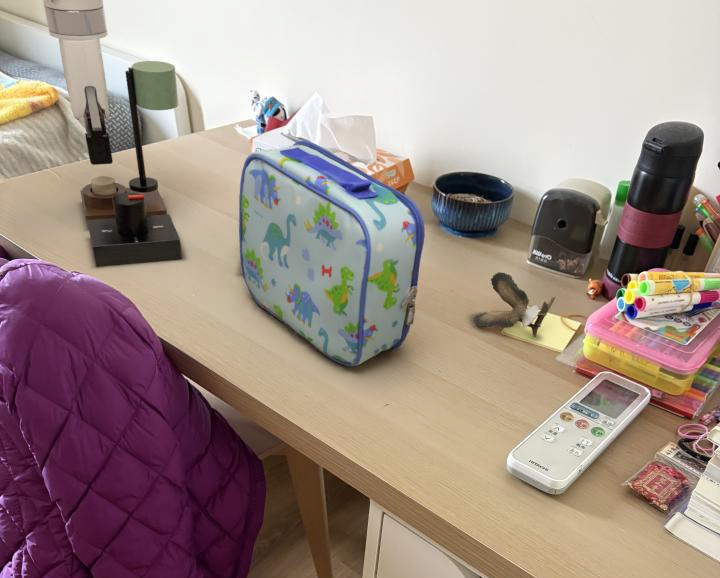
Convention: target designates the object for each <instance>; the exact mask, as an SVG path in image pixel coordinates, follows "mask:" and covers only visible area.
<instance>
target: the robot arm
mask: <svg viewBox="0 0 720 578" xmlns="http://www.w3.org/2000/svg"><path fill="white" fill-rule="evenodd" d="M42 4H43V8H44V13H45V19H46V22H47V23H46V24H47V28H48V33H49V36H51V37H52V38H56V39H58V44H59V51H60V59H61V63H62V68H63V73H64V80H65V85H66V89H67V94H68V99H69V103H70V108H71V113H72V116H73V118H74V119H75V120H76V121H79V120H80V119H81V118H83V123H84V127H85V133H84V135H85V136H84V137H85V141H86V147H87V153H88V157H89V162H90V164H91V165H93V166H99V165H111V164H112V163H113V160H114V159H113V154H112V148H111V144H110V136H109V134H108V132H107V127H106V121H105V120H107V119H108V118H109V117H110V109H109V98H108V88H107V80H106V79H107V78H106V72H105V65H104V59H103V51H102V47H101V40H100V39H104V38H106V37H107V36H108V35H109V33H108V27H107V20H106V14H105V8H104V0H42Z"/></svg>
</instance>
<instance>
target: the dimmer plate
mask: <svg viewBox="0 0 720 578" xmlns="http://www.w3.org/2000/svg"><path fill="white" fill-rule="evenodd" d="M147 222H148V231H147V232H145V233H144V234H141V235H134V236H130V235H123V234H121V233H119V232H118V231H117V227H116V220H115V218H111V219H96V220H87V221H86V225H87V224H88V226H87V230H88V229H89V230H88V234H89V239H90V243H91V249H92V253H93V257H94V262H95V267H107V266H117V265H128V264H129V265H130V264H141V263H153V262H161V261H173V260H174V261H175V260H182V258H183V256H182V247H181V246H182V245H181V239H180V236H179V234H178V232H177V231H178V230H177V229H176V227H175V224H174V221H173V219H172V217H171V215H170V213H169V214H168V213H167V215H153V216H147Z"/></svg>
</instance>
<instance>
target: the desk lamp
mask: <svg viewBox="0 0 720 578" xmlns="http://www.w3.org/2000/svg"><path fill="white" fill-rule="evenodd" d="M127 69H128V70H125V72H124V73H125V80H126V88H127V94H128V95H127V96H128V102H129V103H128V104H129V111H130V117H131V124H132V125H131V126H132V133H133V139H134V140H133V141H134V148H135V156H136V162H137V170H138V177H134V178H131V179H130V180H129V181H128V188H130V189H131V190H132V191H135V192H142V193H145V192H152V191H155V190H157V189H158V190H159V182H158V180H157V179H155V178H153V177H149V176H147V174H146V168H145V160H144V159H145V158H144V152H143V151H144V150H143V144H142V143H143V142H142V136H141V126H140V119H139V111H138V107H139V108H141V109H143V110H149V111H168V110H173V109H176V108H177V107H178V106H179V99H178V98H179V97H178V87H177V86H178V85H177V77H176V76H177V75H176V67H175V65H174V64H172V63H169V62H166V61H159V60H145V61H144V60H143V61H138V62H135V63H132V65H131V67H130V66H129V67H128V68H127Z"/></svg>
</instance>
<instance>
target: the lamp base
mask: <svg viewBox="0 0 720 578" xmlns="http://www.w3.org/2000/svg"><path fill="white" fill-rule="evenodd" d="M115 183H116V190H117V192H116V193H113V194H110V195H97V194H94V193H93V192H92V186H91V183H89V184H86V185H85V186H83V188H81V189H80V190H79V191H80V195H81V196H80V197H81V200H82V207H83V211H84V215H85V221H86V222H87V220H96V219H111V218H115V214H114V208H113V202H112V198H113V197H114V196H115V195H117V194H120V193H137V194H140V195H144V199H145V206H146V214H147V216H153V215H167V214H168V211H167V208H166V206H165V204H164V201H163V198H162V195H161V193H160V191H159V188H158V189H157V190H155V191H152V192H145V193H142V192H135V191H132V190H131V189H130V188H129V187H126V186H125V185H123V184H121V183H118V182H115ZM86 225H87V227H88V224H87V223H86ZM87 230H88V231H89V229H88V228H87Z"/></svg>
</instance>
